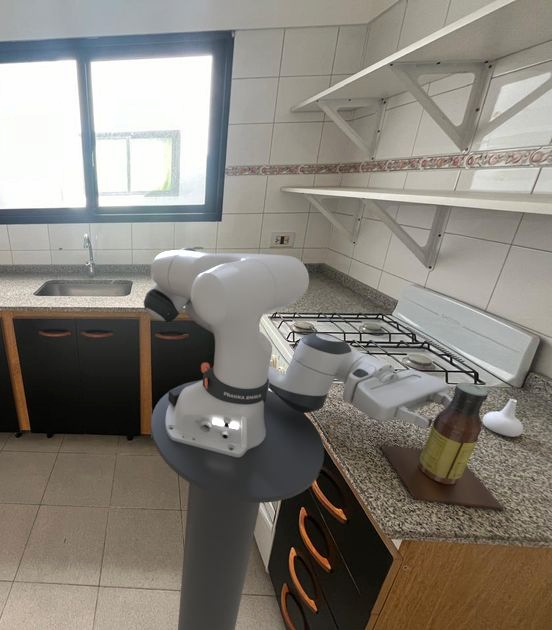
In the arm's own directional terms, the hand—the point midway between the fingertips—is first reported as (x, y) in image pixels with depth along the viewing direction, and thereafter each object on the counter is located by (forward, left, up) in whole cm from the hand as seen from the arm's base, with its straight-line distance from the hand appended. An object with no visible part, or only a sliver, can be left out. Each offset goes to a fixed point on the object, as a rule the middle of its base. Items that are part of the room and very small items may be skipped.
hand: (445, 418), depth 64 cm
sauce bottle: (+1, -2, -12) cm, 12 cm away
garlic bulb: (+23, +15, -13) cm, 30 cm away
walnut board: (+1, -2, -13) cm, 13 cm away
